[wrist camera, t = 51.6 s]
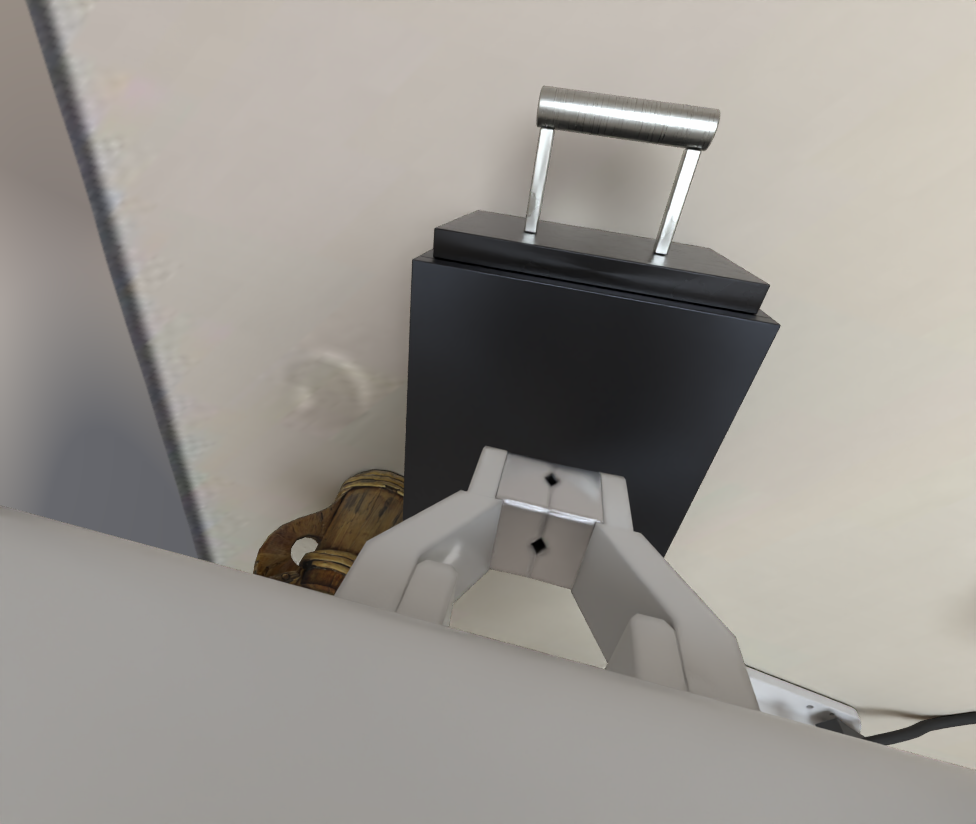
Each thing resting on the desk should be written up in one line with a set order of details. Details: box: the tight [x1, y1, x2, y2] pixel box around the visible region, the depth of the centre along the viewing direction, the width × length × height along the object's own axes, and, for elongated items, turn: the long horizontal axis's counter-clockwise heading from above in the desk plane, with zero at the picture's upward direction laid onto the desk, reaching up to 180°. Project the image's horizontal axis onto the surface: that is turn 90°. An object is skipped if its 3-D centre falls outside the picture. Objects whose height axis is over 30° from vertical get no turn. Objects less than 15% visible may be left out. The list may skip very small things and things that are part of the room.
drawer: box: [433, 86, 770, 314], centre depth 23 cm, size 20×13×9 cm
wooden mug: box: [253, 470, 404, 596], centre depth 32 cm, size 9×14×18 cm, turn 45°
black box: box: [403, 249, 780, 558], centre depth 25 cm, size 16×15×11 cm
